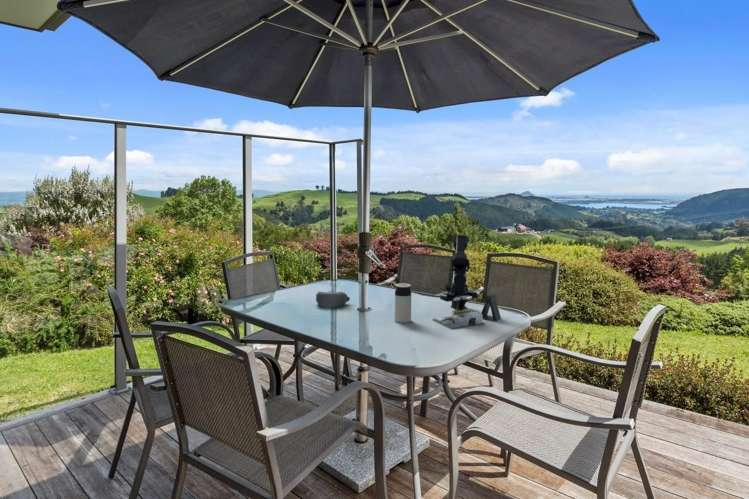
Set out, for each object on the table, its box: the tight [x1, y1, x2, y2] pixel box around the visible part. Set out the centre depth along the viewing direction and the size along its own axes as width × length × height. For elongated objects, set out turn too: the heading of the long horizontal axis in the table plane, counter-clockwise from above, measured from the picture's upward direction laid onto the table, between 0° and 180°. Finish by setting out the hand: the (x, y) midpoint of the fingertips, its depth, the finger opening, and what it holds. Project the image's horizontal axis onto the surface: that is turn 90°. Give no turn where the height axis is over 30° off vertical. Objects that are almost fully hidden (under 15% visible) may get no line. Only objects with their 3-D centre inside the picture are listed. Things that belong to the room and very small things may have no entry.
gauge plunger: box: [442, 308, 472, 321], centre depth 209 cm, size 16×8×5 cm, turn 115°
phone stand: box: [480, 293, 502, 322], centre depth 217 cm, size 9×6×12 cm, turn 54°
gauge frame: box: [432, 311, 486, 330], centre depth 211 cm, size 19×16×5 cm
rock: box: [315, 291, 351, 308], centre depth 243 cm, size 18×11×8 cm, turn 87°
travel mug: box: [394, 282, 412, 324], centre depth 212 cm, size 8×8×18 cm
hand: (458, 312), depth 215 cm, fingers closed
